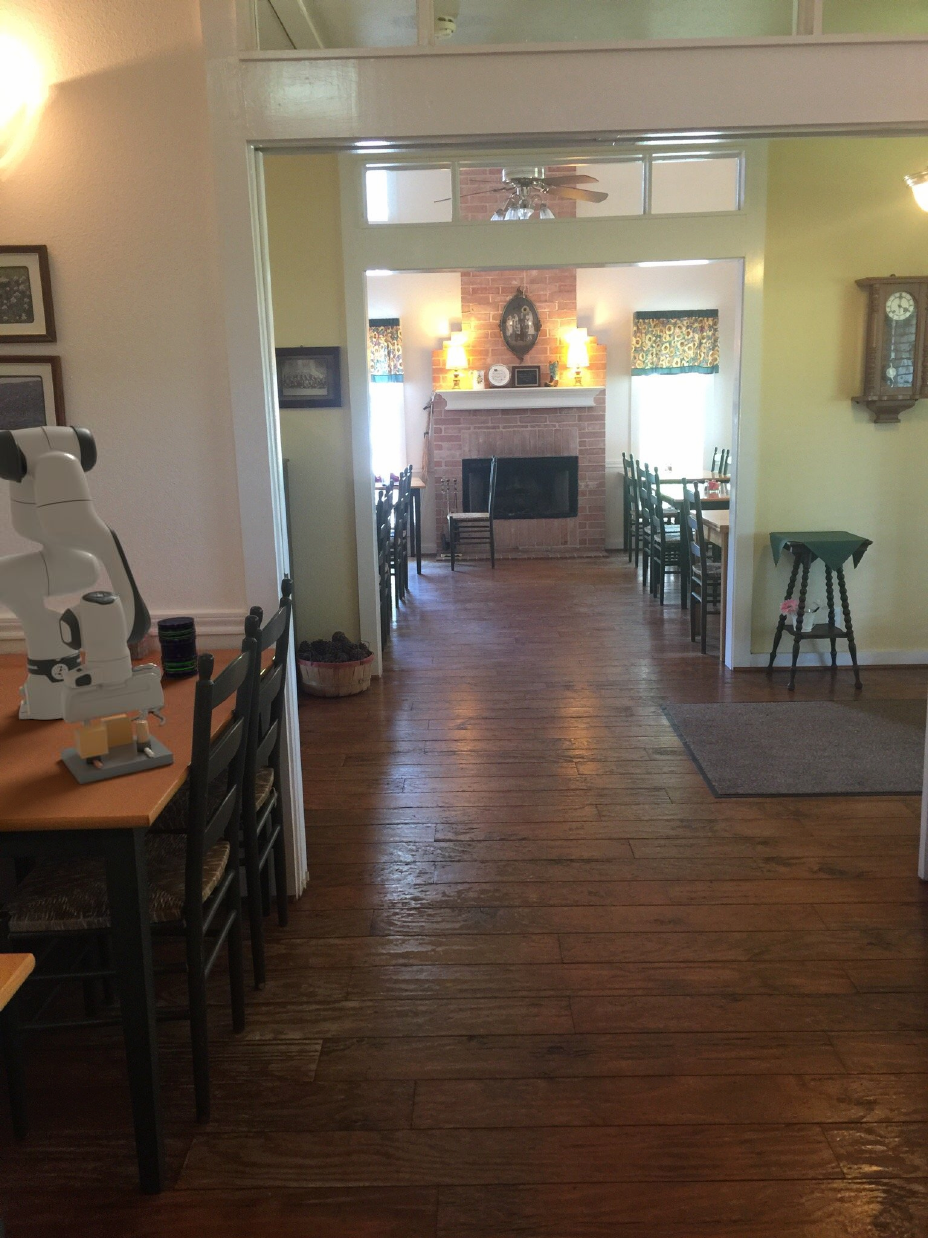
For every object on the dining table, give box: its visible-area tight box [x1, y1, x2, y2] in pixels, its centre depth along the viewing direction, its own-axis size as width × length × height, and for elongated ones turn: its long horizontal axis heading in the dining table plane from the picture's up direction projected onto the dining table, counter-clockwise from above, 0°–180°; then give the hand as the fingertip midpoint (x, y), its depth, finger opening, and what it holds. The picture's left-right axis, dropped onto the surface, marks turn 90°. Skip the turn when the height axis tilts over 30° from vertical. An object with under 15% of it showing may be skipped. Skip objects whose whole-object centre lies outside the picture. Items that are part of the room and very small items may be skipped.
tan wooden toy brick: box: [100, 713, 134, 748], centre depth 206 cm, size 5×5×5 cm
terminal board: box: [60, 719, 174, 785], centre depth 200 cm, size 18×18×9 cm
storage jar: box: [156, 616, 199, 680], centre depth 266 cm, size 10×10×15 cm
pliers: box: [130, 701, 167, 727], centre depth 230 cm, size 10×1×20 cm
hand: (117, 734), depth 206 cm, fingers open, 8 cm apart
